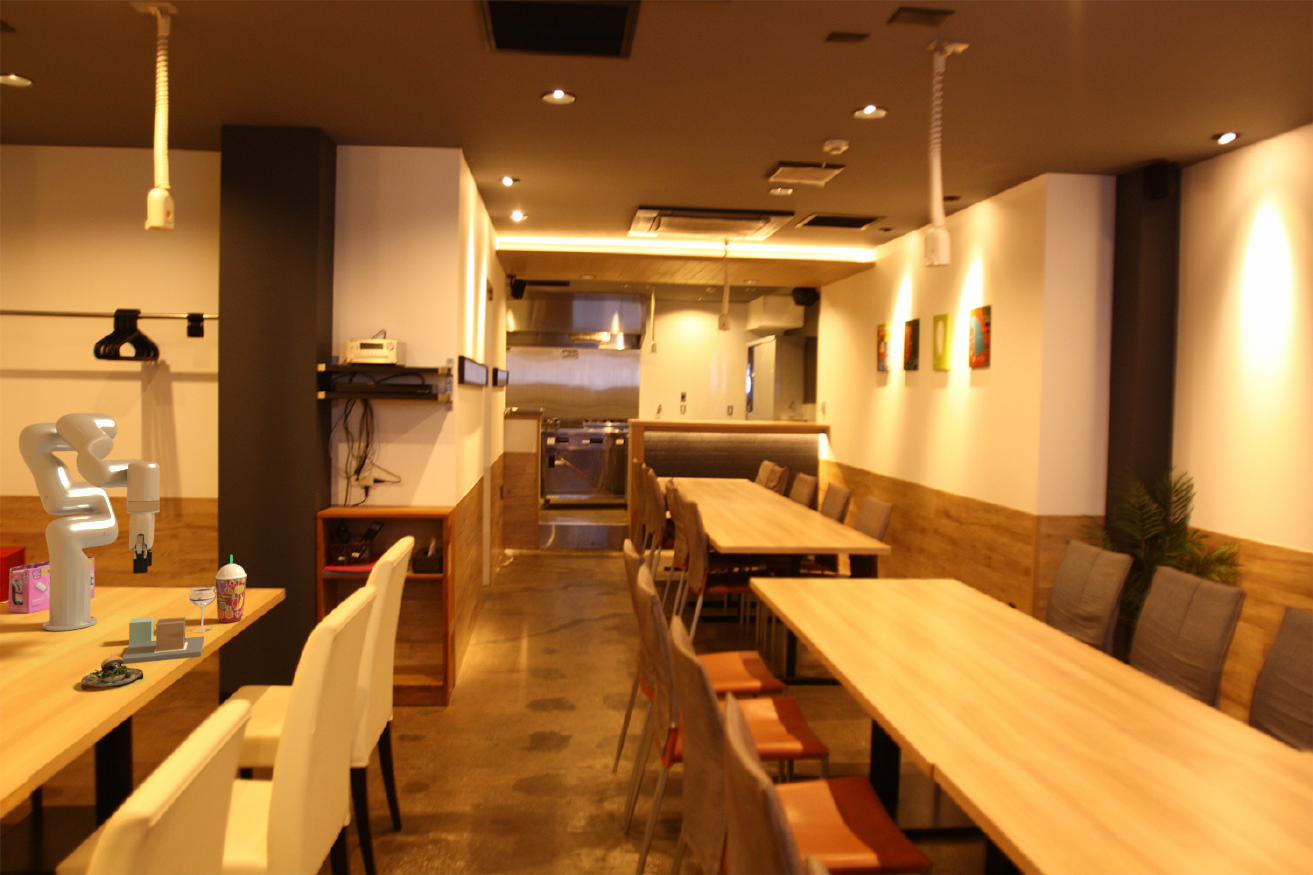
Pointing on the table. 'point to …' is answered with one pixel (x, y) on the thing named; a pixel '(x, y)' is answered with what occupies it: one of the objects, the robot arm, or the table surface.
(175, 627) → the walnut block
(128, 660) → the slate board
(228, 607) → the smoothie
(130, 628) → the teal block
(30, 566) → the gum box
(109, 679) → the burger
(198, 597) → the wineglass
